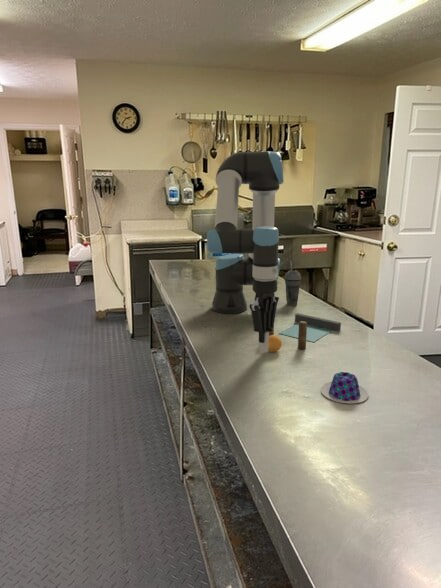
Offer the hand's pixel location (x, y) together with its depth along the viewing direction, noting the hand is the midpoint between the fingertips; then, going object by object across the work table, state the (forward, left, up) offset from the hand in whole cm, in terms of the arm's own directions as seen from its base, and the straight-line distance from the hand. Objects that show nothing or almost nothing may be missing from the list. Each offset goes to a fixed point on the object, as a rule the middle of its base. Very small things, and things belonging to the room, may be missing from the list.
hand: (263, 350), depth 137 cm
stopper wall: (0, +36, -2) cm, 36 cm away
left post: (-6, +13, -2) cm, 15 cm away
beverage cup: (-22, +55, -2) cm, 59 cm away
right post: (+6, +13, -2) cm, 15 cm away
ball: (0, +5, +1) cm, 5 cm away
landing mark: (0, +27, -2) cm, 27 cm away
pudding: (+30, -7, -2) cm, 31 cm away
